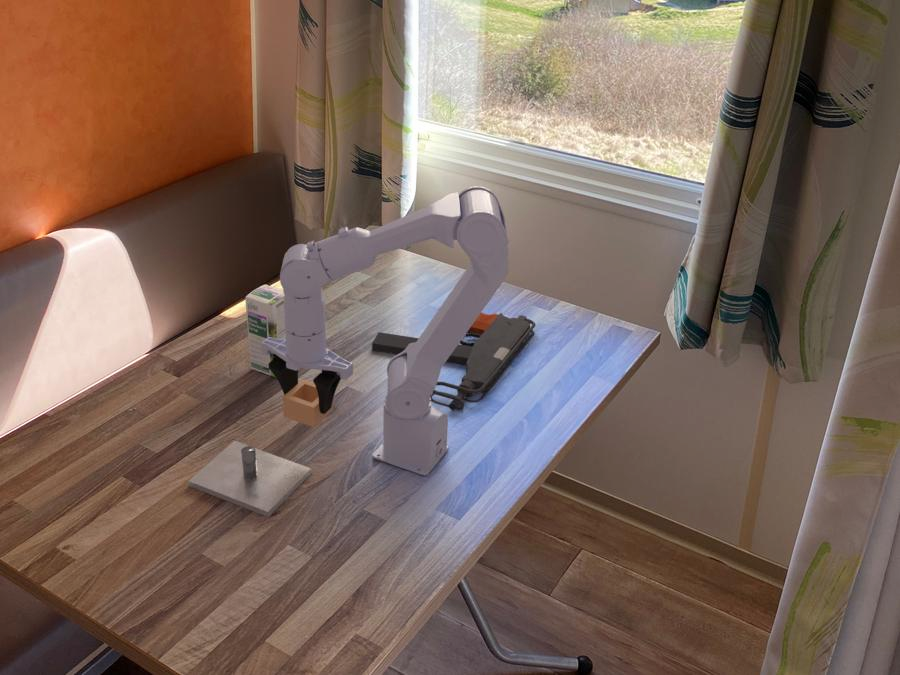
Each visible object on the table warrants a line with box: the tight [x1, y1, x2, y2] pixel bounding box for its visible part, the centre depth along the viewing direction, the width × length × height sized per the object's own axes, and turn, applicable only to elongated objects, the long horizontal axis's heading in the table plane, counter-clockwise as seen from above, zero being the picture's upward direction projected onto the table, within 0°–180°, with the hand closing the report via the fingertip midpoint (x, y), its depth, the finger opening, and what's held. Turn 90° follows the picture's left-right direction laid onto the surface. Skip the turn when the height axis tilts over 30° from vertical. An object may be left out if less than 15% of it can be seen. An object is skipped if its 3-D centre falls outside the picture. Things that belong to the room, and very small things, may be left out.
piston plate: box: [188, 440, 312, 518], centre depth 143 cm, size 14×11×6 cm
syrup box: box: [245, 284, 286, 379], centre depth 167 cm, size 6×6×14 cm
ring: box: [282, 379, 335, 428], centre depth 146 cm, size 5×5×4 cm
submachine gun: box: [371, 308, 537, 411], centre depth 177 cm, size 32×3×25 cm
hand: (308, 404), depth 146 cm, fingers closed on ring, 5 cm apart
